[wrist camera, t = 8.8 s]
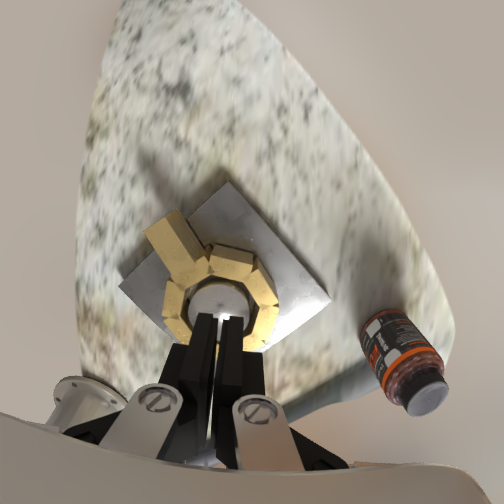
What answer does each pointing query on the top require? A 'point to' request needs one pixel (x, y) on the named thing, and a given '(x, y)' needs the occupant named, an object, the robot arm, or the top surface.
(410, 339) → the supplement bottle
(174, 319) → the segmented octagonal ring
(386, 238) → the top surface
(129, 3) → the top surface
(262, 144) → the top surface
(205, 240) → the spindle plate
